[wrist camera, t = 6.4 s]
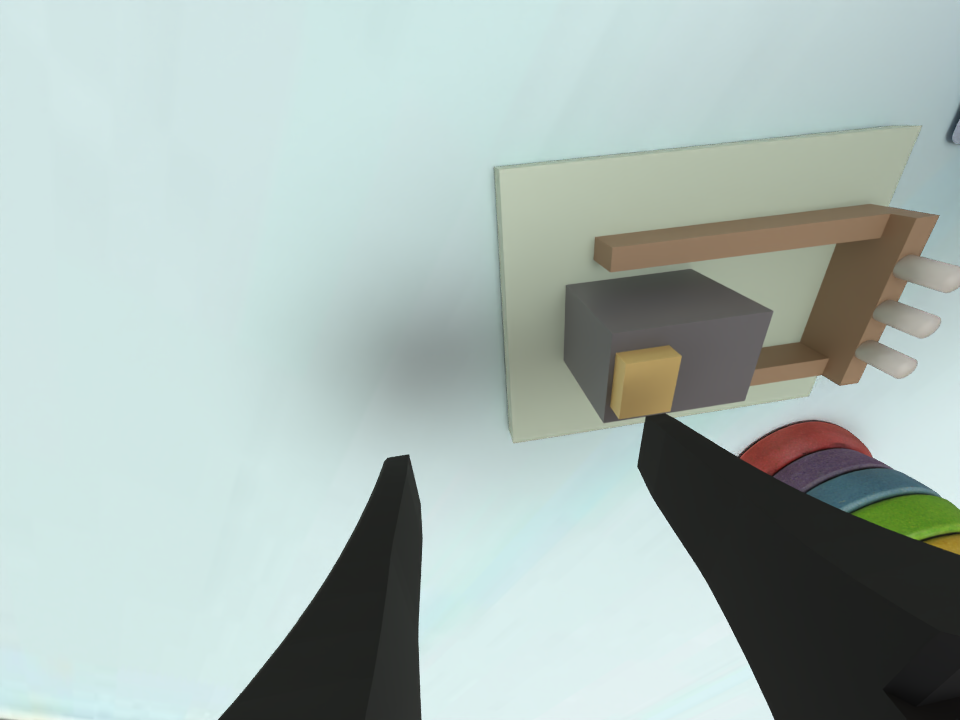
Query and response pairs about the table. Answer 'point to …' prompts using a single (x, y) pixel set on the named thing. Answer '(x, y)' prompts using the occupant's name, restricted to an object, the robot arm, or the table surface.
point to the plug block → (661, 343)
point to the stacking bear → (856, 482)
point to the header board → (718, 257)
